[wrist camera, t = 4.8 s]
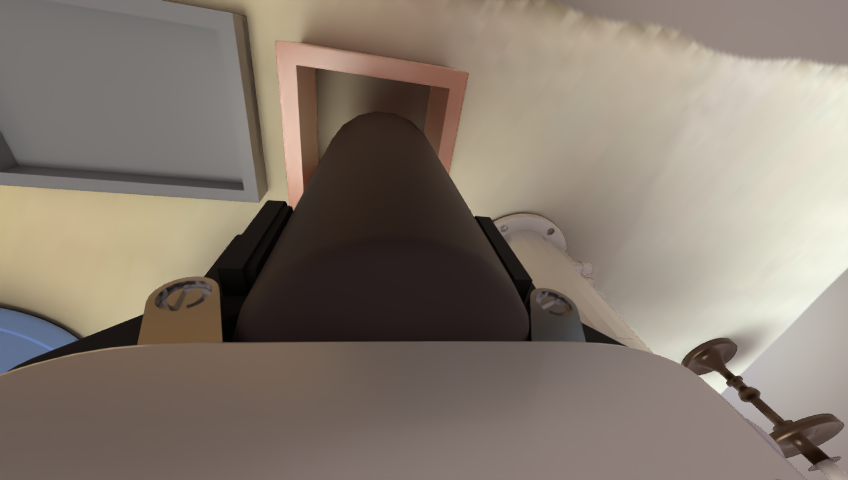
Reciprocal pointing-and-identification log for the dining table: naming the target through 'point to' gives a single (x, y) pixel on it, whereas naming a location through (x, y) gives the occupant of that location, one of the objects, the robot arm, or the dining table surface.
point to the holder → (304, 59)
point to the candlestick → (786, 433)
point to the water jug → (27, 338)
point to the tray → (129, 99)
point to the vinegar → (382, 252)
